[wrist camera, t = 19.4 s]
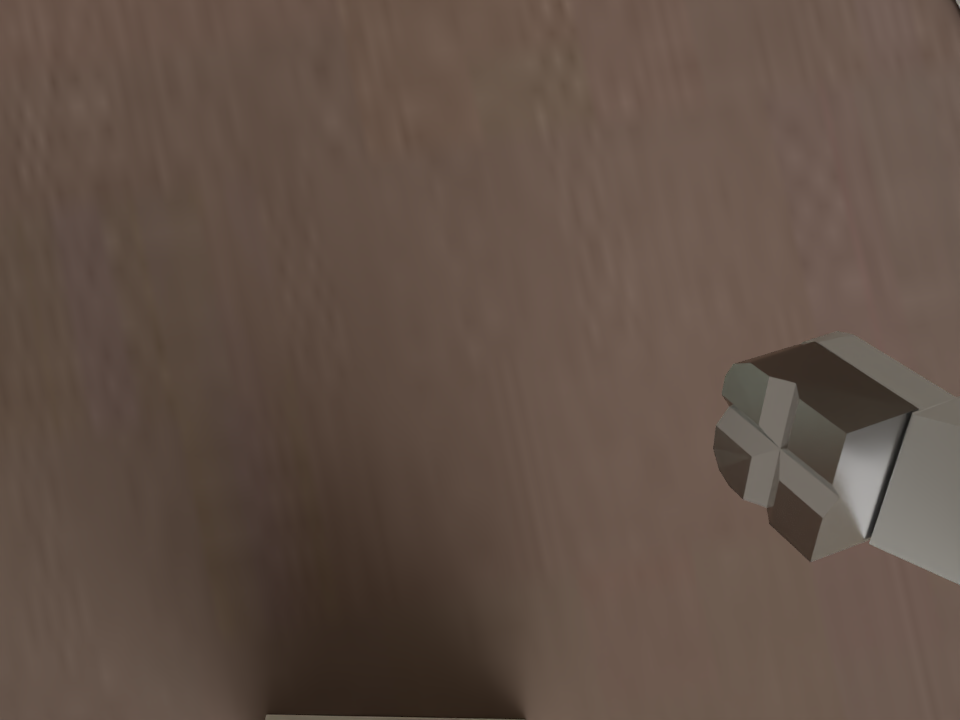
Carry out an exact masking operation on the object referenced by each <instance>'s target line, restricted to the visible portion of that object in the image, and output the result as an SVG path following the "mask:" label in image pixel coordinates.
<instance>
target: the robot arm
mask: <svg viewBox="0 0 960 720" xmlns="http://www.w3.org/2000/svg"><path fill="white" fill-rule="evenodd" d="M956 2H957V4H958V6H959V8H960V0H956ZM722 396H723V397H724V399H725V400H726V402H727V403H728V405H729V408H728V409H727V411H726V412H725V413H724V415H723V416H722V418H721V419H720V421H719V422H718V423H717V425H716V430H715V438H714V446H713V449H714V453H715V457H716V460H717V464H718V468H719V471H720V472H721V474H722V475H723V477H724V479H725V480H726V482H727V483H728V485H729V486H730V487H731V488H732V489H733V490H734V491H735V492H736V493H737V494H738V495H739V496H740V497H741V498H742V499H743V500H746V501H749V502H752V503H755V504H758V505H760V506H763V507H766V508H767V513H768V519H769V524H770V525H771V526H772V527H773V528H774V529H775V530H776V531H777V532H778V533H780V534H781V535H782V536H783V537H784V538H785V539H786V540H787V541H788V542H789V543H790V544H791V545H792V546H794V547H795V548H796V549H797V550H798V551H799V552H800V553H801V554H802V555H803V556H804V557H805V558H807V559H808V560H809V561H810V562H812V561H815V560H817V559H820V558H823V557H825V556H828V555H831V554H833V553H836V552H839V551H841V550H844V549H847V548H849V547H852V546H855V545H857V544H860V543H863V542H865V541H868V540H870V542H869V544H871V545H873V546H875V547H877V548H879V549H882V550H884V551H886V552H888V553H890V554H893V555H895V556H897V557H899V558H902V559H904V560H906V561H908V562H910V563H913V564H915V565H917V566H919V567H921V568H924V569H926V570H928V571H930V572H932V573H935V574H937V575H939V576H941V577H943V578H946V579H948V580H950V581H952V582H954V583H957V584H959V585H960V396H959V397H955V396H953V395H951V394H950V393H948V392H946V391H945V390H943V389H942V388H940V387H938V386H937V385H935V384H933V383H932V382H930V381H928V380H927V379H925V378H924V377H922V376H920V375H919V374H917V373H915V372H914V371H912V370H911V369H909V368H907V367H906V366H904V365H902V364H901V363H899V362H897V361H896V360H894V359H893V358H891V357H889V356H888V355H886V354H884V353H883V352H881V351H879V350H878V349H876V348H875V347H873V346H871V345H870V344H868V343H866V342H865V341H863V340H862V339H860V338H858V337H857V336H855V335H853V334H849V333H844V332H839V331H836V332H833V333H830V334H827V335H824V336H820V337H817V338H814V339H811V340H808V341H805V342H803V343H801V344H799V345H794V346H791V347H788V348H784V349H781V350H778V351H775V352H771V353H768V354H765V355H761V356H758V357H755V358H752V359H748V360H745V361H742V362H738V363H735V364H733V366H732V367H731V368H730V370H729V371H728V373H727V374H726V376H725V380H724V385H723V390H722Z"/></svg>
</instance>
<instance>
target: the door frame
mask: <svg viewBox="0 0 960 720" xmlns="http://www.w3.org/2000/svg"><path fill="white" fill-rule="evenodd" d="M265 720H526V719H474V718H422V717H369V716H317V715H266V718H265Z"/></svg>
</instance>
